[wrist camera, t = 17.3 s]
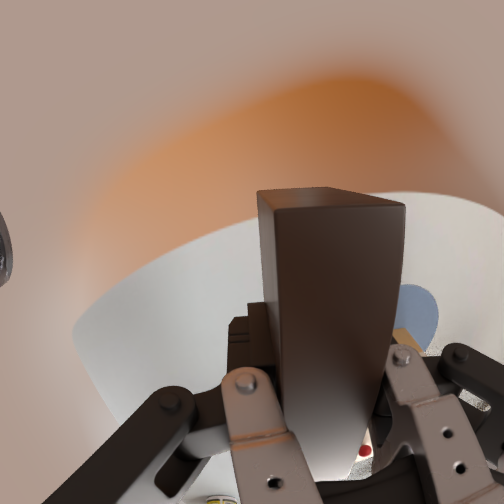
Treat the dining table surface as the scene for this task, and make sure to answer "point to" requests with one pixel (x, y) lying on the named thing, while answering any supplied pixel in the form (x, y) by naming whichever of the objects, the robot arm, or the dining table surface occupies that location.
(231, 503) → the pill bottle
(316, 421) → the dark brown wooden block
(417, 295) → the plate
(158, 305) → the dining table surface
